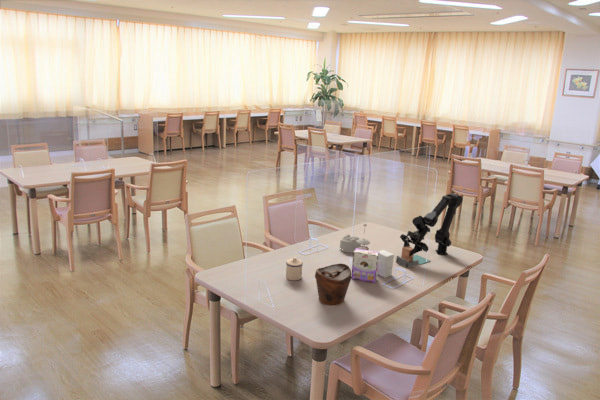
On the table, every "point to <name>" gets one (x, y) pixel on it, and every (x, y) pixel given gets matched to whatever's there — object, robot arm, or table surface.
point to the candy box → (365, 265)
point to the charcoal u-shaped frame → (406, 262)
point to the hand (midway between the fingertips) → (406, 253)
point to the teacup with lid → (294, 269)
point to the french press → (363, 242)
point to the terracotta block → (407, 253)
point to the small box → (385, 263)
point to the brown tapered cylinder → (333, 283)
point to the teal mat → (420, 259)
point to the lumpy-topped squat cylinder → (349, 243)
